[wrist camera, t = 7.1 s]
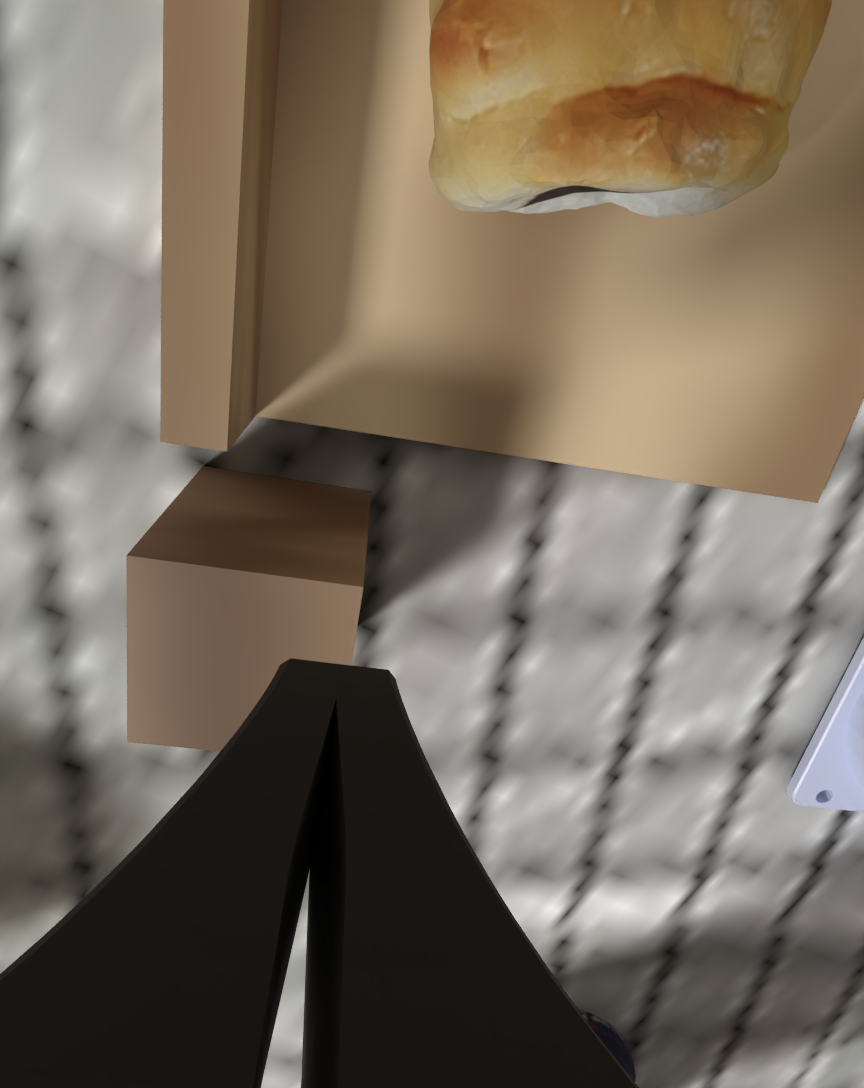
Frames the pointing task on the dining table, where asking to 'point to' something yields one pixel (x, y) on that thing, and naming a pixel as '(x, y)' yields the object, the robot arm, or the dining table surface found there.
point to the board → (491, 269)
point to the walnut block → (237, 599)
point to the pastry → (614, 100)
